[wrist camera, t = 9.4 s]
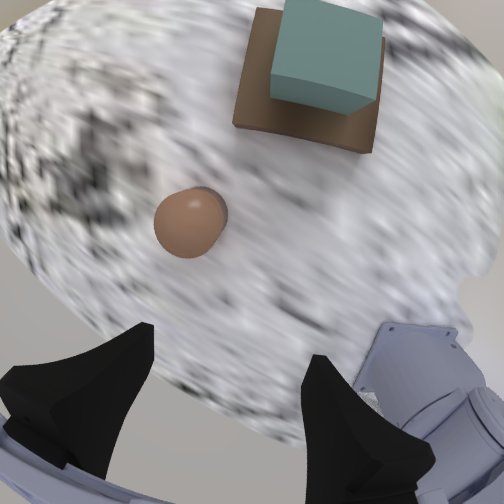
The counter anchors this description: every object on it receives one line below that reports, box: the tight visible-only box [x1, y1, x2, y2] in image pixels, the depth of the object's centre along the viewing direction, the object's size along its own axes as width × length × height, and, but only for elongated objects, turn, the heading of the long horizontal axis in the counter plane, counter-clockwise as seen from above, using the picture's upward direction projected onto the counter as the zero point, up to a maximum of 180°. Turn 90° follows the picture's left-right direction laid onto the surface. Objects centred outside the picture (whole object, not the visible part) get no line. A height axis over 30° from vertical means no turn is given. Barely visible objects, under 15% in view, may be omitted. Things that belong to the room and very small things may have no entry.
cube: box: [270, 0, 383, 116], centre depth 13 cm, size 5×5×5 cm
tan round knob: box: [154, 186, 228, 258], centre depth 18 cm, size 4×4×4 cm
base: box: [232, 7, 385, 154], centre depth 16 cm, size 9×9×2 cm
